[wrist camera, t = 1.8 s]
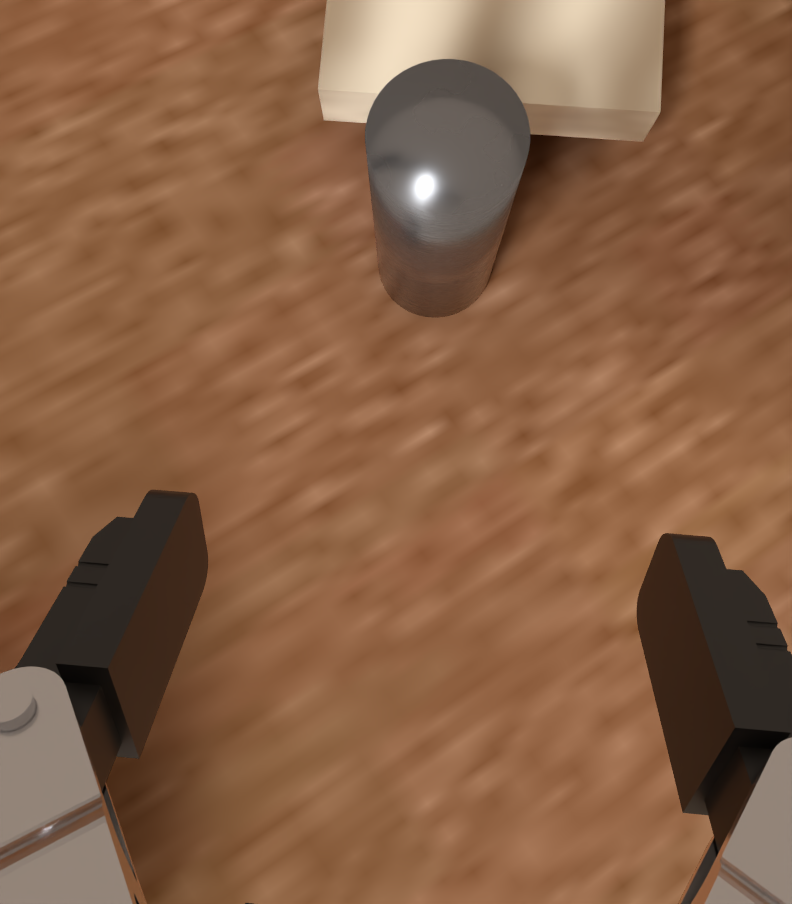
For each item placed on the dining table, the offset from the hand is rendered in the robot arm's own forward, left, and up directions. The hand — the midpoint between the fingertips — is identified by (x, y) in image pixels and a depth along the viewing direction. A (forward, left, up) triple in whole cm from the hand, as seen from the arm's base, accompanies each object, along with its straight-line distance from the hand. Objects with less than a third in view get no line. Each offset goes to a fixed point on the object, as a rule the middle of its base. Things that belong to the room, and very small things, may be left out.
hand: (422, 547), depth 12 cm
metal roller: (0, +12, -18) cm, 21 cm away
